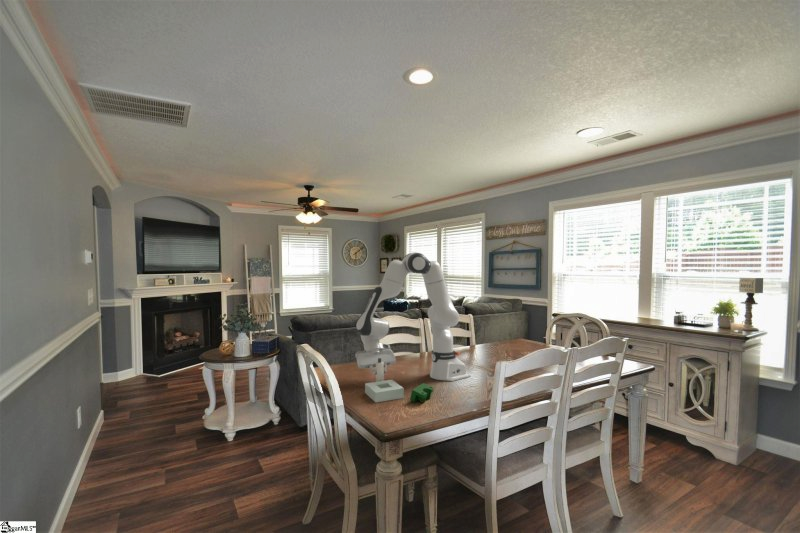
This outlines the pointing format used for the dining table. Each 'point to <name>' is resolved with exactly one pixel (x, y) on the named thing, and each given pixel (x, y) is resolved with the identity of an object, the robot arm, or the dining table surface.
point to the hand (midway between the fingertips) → (380, 373)
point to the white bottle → (379, 370)
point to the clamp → (421, 393)
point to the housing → (384, 390)
